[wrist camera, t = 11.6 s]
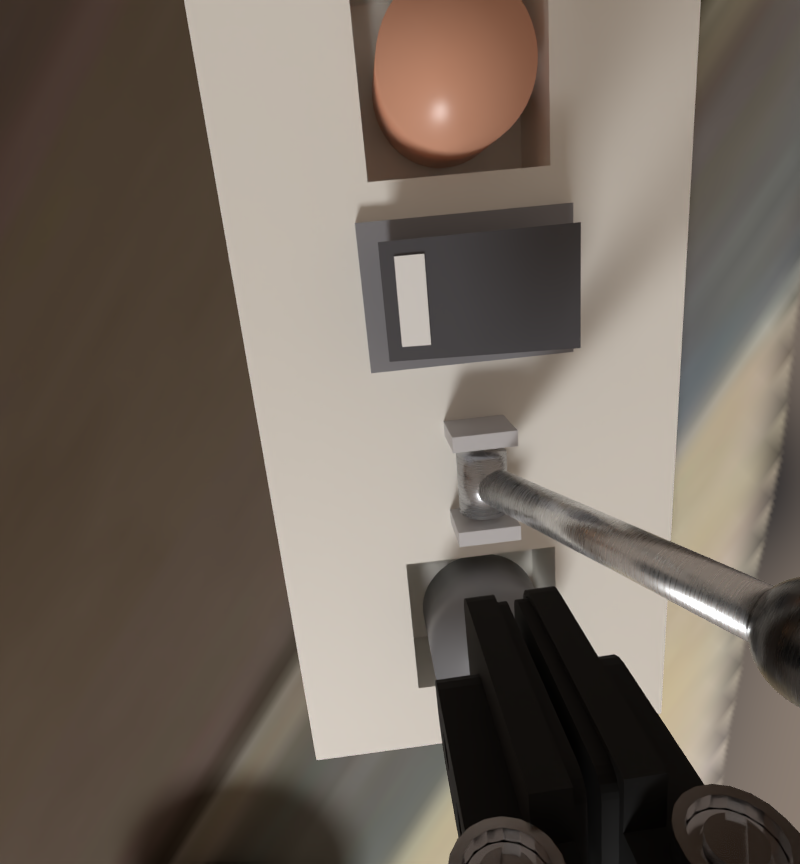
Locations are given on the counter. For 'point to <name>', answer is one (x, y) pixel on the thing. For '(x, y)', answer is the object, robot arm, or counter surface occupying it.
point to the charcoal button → (448, 605)
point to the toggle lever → (647, 563)
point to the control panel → (393, 418)
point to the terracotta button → (452, 76)
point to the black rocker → (482, 292)
